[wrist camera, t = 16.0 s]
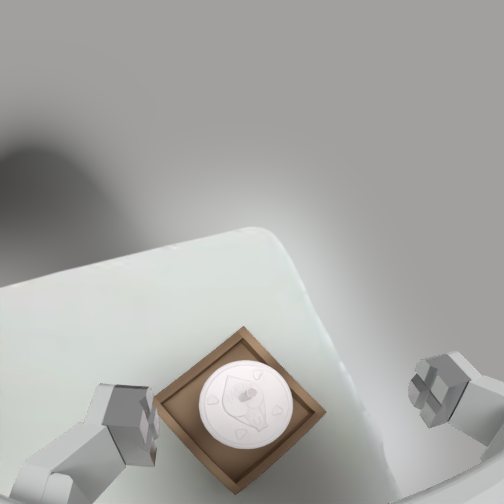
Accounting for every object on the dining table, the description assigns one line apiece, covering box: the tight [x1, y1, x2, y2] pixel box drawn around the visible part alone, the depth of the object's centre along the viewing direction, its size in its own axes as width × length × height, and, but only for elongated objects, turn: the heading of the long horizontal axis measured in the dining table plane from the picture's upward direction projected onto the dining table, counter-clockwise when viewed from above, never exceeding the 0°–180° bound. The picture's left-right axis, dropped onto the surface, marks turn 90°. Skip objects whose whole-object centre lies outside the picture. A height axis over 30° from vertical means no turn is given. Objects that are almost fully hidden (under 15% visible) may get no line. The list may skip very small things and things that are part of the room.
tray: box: [152, 326, 326, 495], centre depth 27 cm, size 12×12×2 cm
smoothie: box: [199, 360, 293, 449], centre depth 22 cm, size 6×6×14 cm
